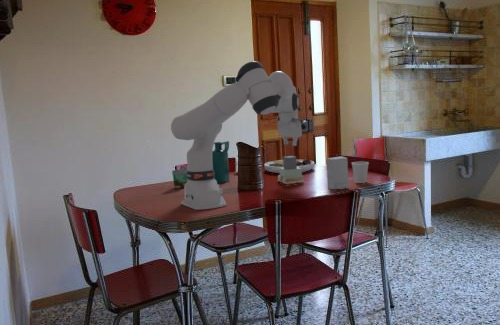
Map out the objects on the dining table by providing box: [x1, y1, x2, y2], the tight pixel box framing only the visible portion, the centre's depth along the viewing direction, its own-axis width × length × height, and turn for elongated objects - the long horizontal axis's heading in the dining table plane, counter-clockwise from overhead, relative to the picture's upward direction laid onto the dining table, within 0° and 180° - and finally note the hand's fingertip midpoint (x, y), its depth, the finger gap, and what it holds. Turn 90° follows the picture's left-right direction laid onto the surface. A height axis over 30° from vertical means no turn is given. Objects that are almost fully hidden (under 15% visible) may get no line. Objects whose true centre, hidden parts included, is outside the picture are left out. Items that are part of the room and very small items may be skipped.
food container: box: [171, 166, 188, 190], centre depth 229 cm, size 12×6×10 cm, turn 168°
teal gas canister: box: [212, 140, 230, 184], centre depth 239 cm, size 10×8×22 cm
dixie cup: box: [351, 161, 370, 183], centre depth 218 cm, size 8×8×10 cm
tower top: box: [279, 167, 303, 178], centre depth 226 cm, size 9×9×4 cm
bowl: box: [264, 158, 315, 173], centre depth 265 cm, size 30×30×8 cm
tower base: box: [277, 174, 305, 184], centre depth 227 cm, size 10×10×4 cm
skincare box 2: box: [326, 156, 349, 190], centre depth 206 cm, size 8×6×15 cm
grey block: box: [282, 155, 297, 169], centre depth 225 cm, size 5×5×6 cm
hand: (290, 145), depth 224 cm, fingers open, 8 cm apart
